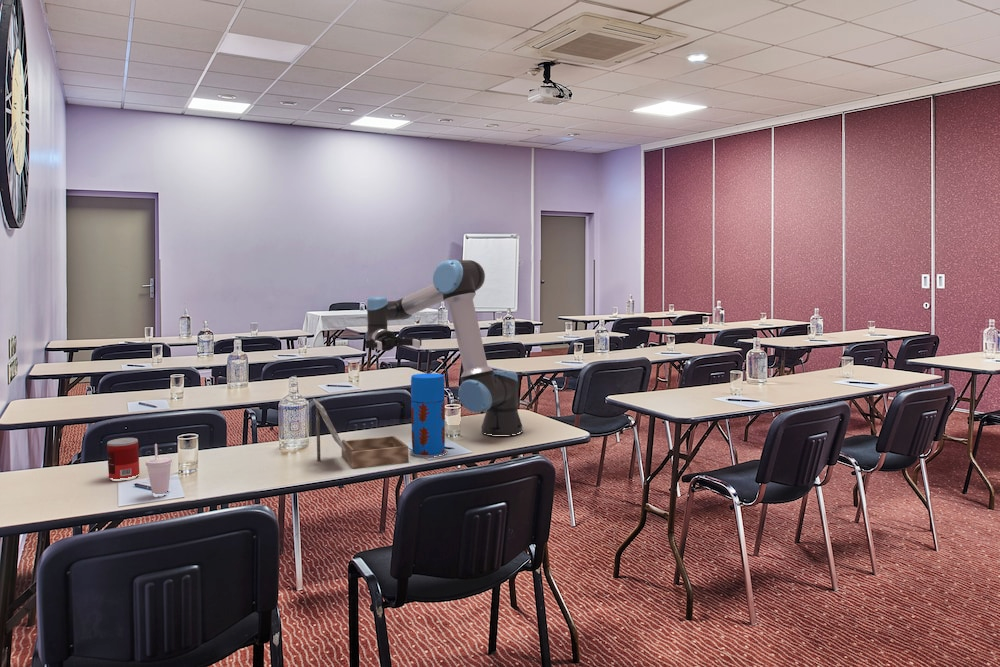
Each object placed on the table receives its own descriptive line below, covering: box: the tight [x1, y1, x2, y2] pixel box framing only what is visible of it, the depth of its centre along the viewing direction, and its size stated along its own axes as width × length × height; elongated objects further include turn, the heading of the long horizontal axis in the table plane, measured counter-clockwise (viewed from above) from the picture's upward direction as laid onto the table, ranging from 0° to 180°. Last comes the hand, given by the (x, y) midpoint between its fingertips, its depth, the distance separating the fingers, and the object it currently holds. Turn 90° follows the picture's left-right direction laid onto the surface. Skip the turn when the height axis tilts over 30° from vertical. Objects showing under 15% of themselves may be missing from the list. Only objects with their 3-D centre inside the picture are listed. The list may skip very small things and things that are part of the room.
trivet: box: [409, 448, 448, 459], centre depth 232 cm, size 12×12×1 cm
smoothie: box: [145, 443, 173, 494], centre depth 188 cm, size 6×6×14 cm
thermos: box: [410, 372, 446, 455], centre depth 231 cm, size 11×11×25 cm
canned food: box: [106, 437, 140, 479], centre depth 204 cm, size 8×8×11 cm
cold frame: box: [312, 398, 409, 470], centre depth 222 cm, size 26×16×20 cm, turn 114°
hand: (400, 345), depth 243 cm, fingers open, 13 cm apart
